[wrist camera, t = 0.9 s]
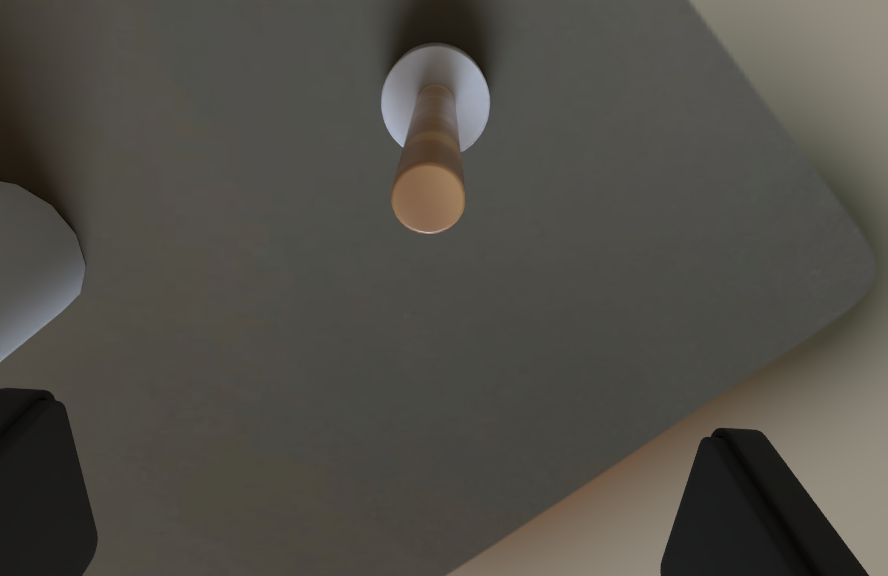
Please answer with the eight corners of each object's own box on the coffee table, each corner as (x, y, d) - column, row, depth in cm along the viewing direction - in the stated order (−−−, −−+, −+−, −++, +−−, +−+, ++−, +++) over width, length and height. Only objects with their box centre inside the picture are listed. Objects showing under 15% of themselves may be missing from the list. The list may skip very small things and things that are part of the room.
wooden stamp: (460, 22, 28) (479, 50, 13) (502, 121, 30) (563, 244, 15) (367, 72, 29) (283, 151, 14) (414, 164, 31) (385, 322, 16)
